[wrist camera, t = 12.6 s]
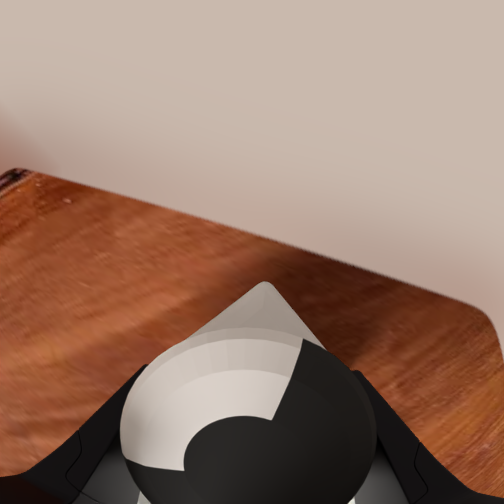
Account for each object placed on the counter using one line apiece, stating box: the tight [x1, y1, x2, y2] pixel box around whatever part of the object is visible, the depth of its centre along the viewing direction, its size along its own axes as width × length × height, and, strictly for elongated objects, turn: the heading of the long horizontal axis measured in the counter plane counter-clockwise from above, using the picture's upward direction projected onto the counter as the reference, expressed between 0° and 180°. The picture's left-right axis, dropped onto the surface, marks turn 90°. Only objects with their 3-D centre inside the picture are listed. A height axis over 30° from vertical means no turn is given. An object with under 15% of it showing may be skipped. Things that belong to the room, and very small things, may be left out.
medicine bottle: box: [120, 282, 377, 504], centre depth 10 cm, size 7×7×12 cm
